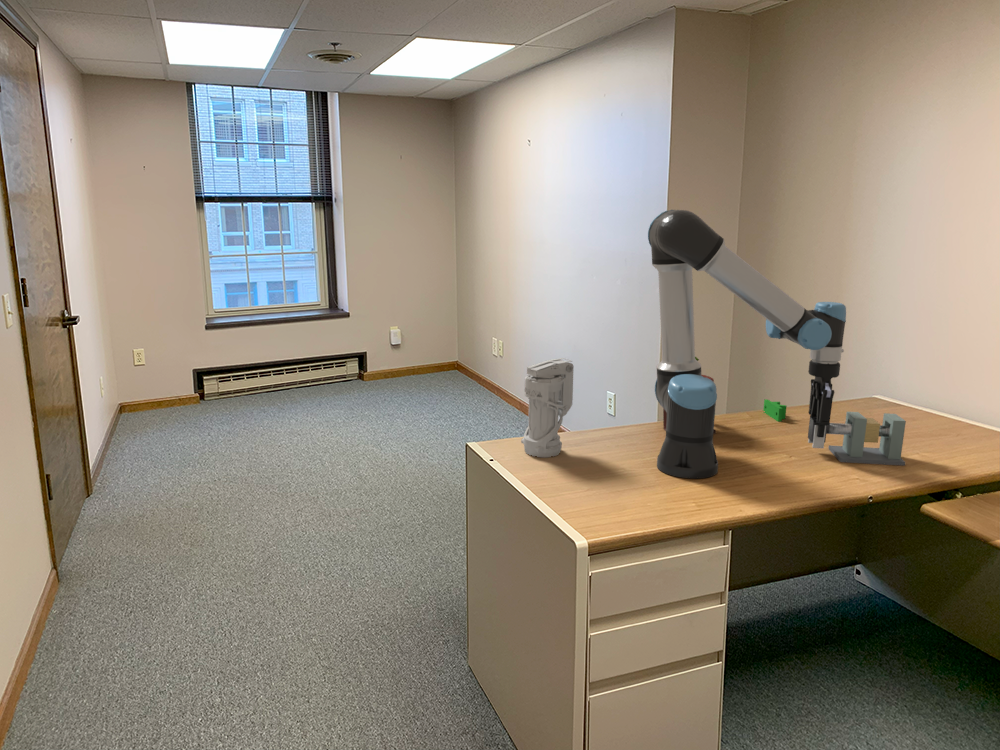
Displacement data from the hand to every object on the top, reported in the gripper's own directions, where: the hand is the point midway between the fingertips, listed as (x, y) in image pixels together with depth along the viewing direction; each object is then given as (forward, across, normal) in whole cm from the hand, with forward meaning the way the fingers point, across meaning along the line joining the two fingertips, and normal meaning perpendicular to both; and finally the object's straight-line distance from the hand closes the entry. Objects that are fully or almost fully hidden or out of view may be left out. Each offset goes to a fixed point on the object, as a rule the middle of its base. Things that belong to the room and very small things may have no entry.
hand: (815, 445), depth 197 cm
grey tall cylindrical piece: (+3, -10, +72) cm, 73 cm away
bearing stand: (+3, 0, -13) cm, 13 cm away
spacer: (-2, 0, -13) cm, 13 cm away
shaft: (-1, 0, -9) cm, 9 cm away
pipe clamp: (+3, +37, +3) cm, 37 cm away
